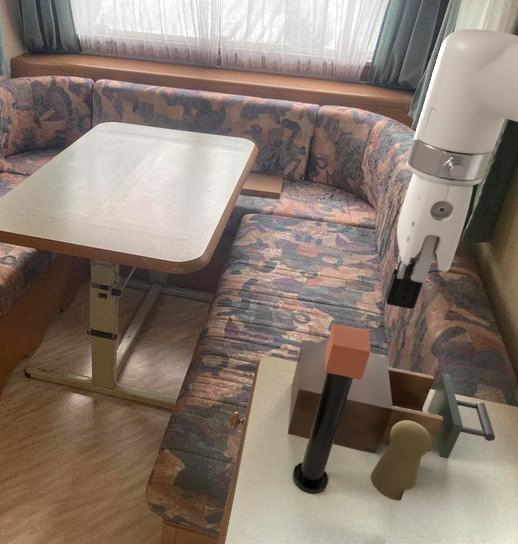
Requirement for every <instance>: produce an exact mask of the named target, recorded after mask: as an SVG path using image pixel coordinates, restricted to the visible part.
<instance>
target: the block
mask: <svg viewBox="0 0 518 544" xmlns="http://www.w3.org/2000/svg"><path fill="white" fill-rule="evenodd" d="M326 344H327V347H326V353H325V372H327V373H332V374H337V375H341V376H346V377H351V378H356V379H361V380H362V377H363V374H364V371H365V368H366V365H367V362H368V358H369V355H370V353H371V341H370V330H368V329H364V328H357V327H353V326H347V325H342V324H336V323H332V325H331V328H330V332H329V337H328V340H327V343H326Z"/></svg>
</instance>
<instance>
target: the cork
mask: <svg viewBox="0 0 518 544" xmlns="http://www.w3.org/2000/svg"><path fill="white" fill-rule="evenodd" d="M430 445H431V439H430V435H429V433H428V432H427V430H426V429H425V428H424V427H423V426H421V425H420V424H418V423H416V422H413V421H408V420H404V421H400V422H398V423H396V424H395V425H394V426H393V427H392V429H391V432H390V444H389V445H387V447H386V448H385V450H384V452H383V453H382V455H381V457H380V458H379V460H378V462H377V463H376V464H375V466H374V468H373V469H372V471H371V473H370V480H371V483H372V486H373V487H374V488H375V490H376V491H378V492H379V493H380V494H381V495H383V496H384V497H386V498H388V499H390V500H395V501H402V498H403V496H404V494H405V491H408V490H411V489H412V488H414V486H415V485H416V482H417V477H418V472H419V469H420V464H421V459H422V457H423V456H424V455H426V454H427V453H428V452H429V451H428V450H429V448H430Z"/></svg>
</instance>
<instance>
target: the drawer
mask: <svg viewBox="0 0 518 544" xmlns="http://www.w3.org/2000/svg"><path fill="white" fill-rule="evenodd" d="M388 371H389V380H390V388H391V396H392V405H393V411H392V414H391V416H390V419H389V422H388V424H387V427H386V430H385V432H384V435H383V438H382V441H381V443H380V444H383V445H385V446H388V445H389V444H390V432H391V429H392V427H393V426H394V425H395V424H396V423H398V422H400V421H404V420H408V421H413V422H416V423H418V424H420V425H421V426H423V427H424V428H425V429H426V430H427V432H428V433H429V435H430V439H431V445H430V448H429V450H428V451H427V452H431V448H432V447H433V445H434V442H435V441H436V446H437V451H438V456H439V458H442V459H443V458H444V459H446V460H447V459H449V457H450V455H451V453H452V451H453V449H454V446H455V445H456V442H457V441H458V438H459V436H460V435H461V433H463V434H468V435H473V436H478V437H482V438H484V439H485V441H488V442H493V441H495V439H496V435H495V431H494V429H493V428H494V427H493V426H492V423H491V419H490V415H489V412H488V409H487V406H486V404H485V403H484V402H483V401H479V402H476V403H474V402H469V401H464V400H460V399H457V398H456V393H455V390H454V389H455V388H454V386H453V382H452V378H451V375H450V374H449V375H448V374H443V373H442V374H441V376H440V378H439V381H438V383H437V386H436V388H435V390H434V394H433V395H432V398H431V400H430V402H429V405H428V407H427V412H424V409H423V408H424V406H425V403H426V401H427V399H428V396H429V394H430V391H431V388H432V386H433V384H434V381H435V376H434V375H430V374H425V373H420V372H415V371H411V370H405V369H400V368H395V367H391V366H388ZM459 406H460V407H465V408H468V409H469V408H470V409H474V410H475V411H476V415H477V417H478V420H479V424H480V427H481V430H479V429H475V428H471V427H465V426H464V425H463V421H462V417H461V413H460V410H459Z"/></svg>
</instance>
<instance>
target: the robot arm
mask: <svg viewBox="0 0 518 544" xmlns="http://www.w3.org/2000/svg"><path fill="white" fill-rule="evenodd" d="M506 119H507V120H510V121H514V122H516V123H518V35H516V34H513V33H508V32H504V31H498V30H490V29H481V28H479V29H478V28H465V29H457V30H454V31H453V32H451V33H449V34H448V35H447V36H446V37H445V39H444V40H443V42H442V43H441V47H440V50H439V53H438V56H437V59H436V63H435V66H434V69H433V72H432V75H431V80H430V83H429V86H428V89H427V92H426V96H425V100H424V103H423V107H422V109H421V112H420V116H419V120H418V123H417V126H416V130H415V133H414V136H413V140H412V143H411V146H410V150H409V153H408V156H407V159H406V162H405V163H406V164H405V167H406V169H407V171H409V172H410V173H412V175H411V179H410V181H409V185H408V188H407V191H406V194H405V197H404V200H403V203H402V206H401V210H400V213H399V217H398V221H397V226H396V237H397V244H398V250H399V252H398V256H397V259H396V263H395V269H393V270H392V274H391V275H390V276H391V277H390V279H389V283H388V287H387V289H386V292H385V299H386V300H385V302H386V304H387V305H389V306H393V307H398V308H399V307H400V308H404V309H409V310H412V309H414V308H415V307H416V304H417V301H418V298H419V295H420V294H421V293H420V292H421V290H422V286H423V284H425V283H426V280H427V277H428V273H429V270H430V267H431V265H432V262H433V259H435V260H434V261H435V264H436V267H437V270H438V271H440V272H441V273H446V272H448V271H450V269H451V266H452V264H453V260H454V257H455V254H456V251H457V248H458V245H459V241H460V238H461V235H462V232H463V229H464V226H465V222H466V219H467V215H468V213H469V212H468V211H469V208H470V204H471V199H472V195H473V190H474V186H476V185H478V184H480V183H482V181H483V179H484V176H485V174H486V171H487V168H488V165H489V163H490V160H491V157H492V156H493V152H494V149H495V147H496V144H497V141H498V139H499V136H500V134H501V131H502V129H503V127H504V124H505V121H506Z"/></svg>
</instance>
